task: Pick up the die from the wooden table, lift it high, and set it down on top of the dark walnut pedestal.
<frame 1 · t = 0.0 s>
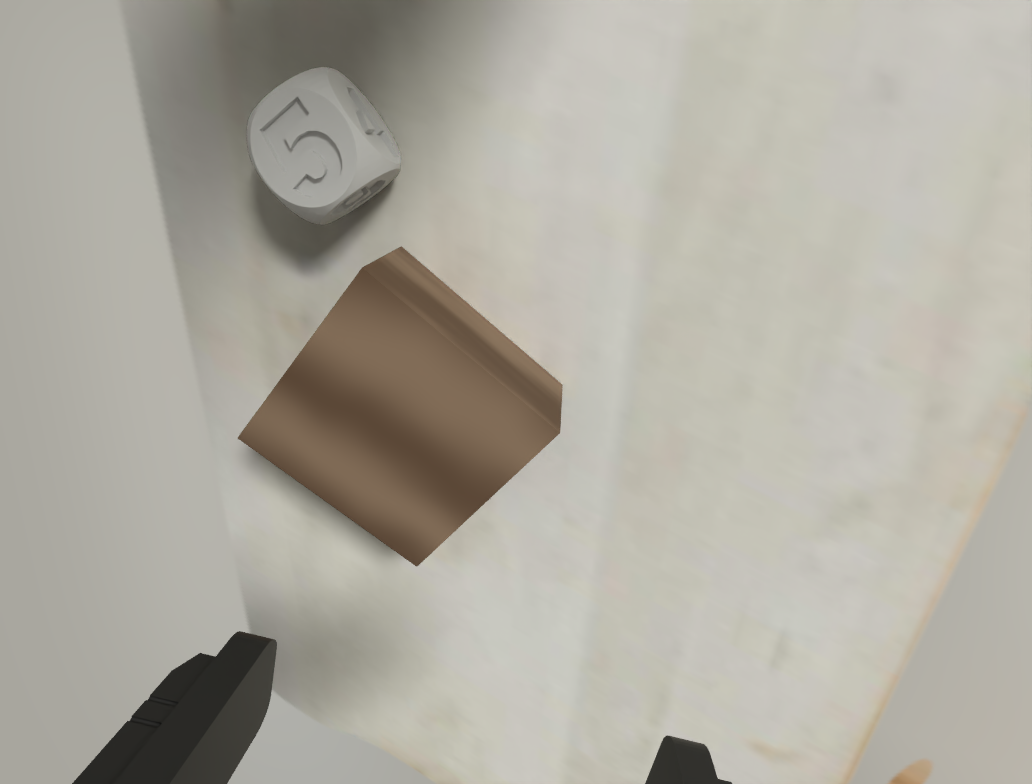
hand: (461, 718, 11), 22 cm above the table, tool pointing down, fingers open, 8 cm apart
pedestal: (422, 388, 33), on the table
die: (348, 150, 28), on the table
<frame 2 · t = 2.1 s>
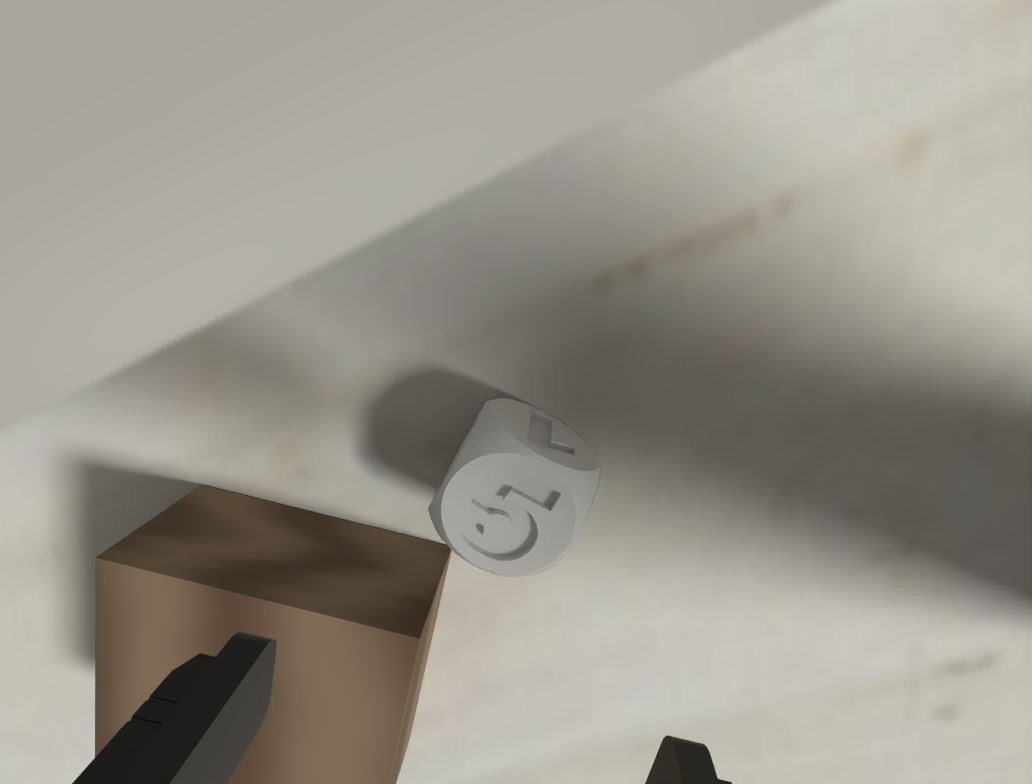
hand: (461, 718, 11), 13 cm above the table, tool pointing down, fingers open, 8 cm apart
pedestal: (311, 620, 27), on the table
die: (518, 457, 24), on the table
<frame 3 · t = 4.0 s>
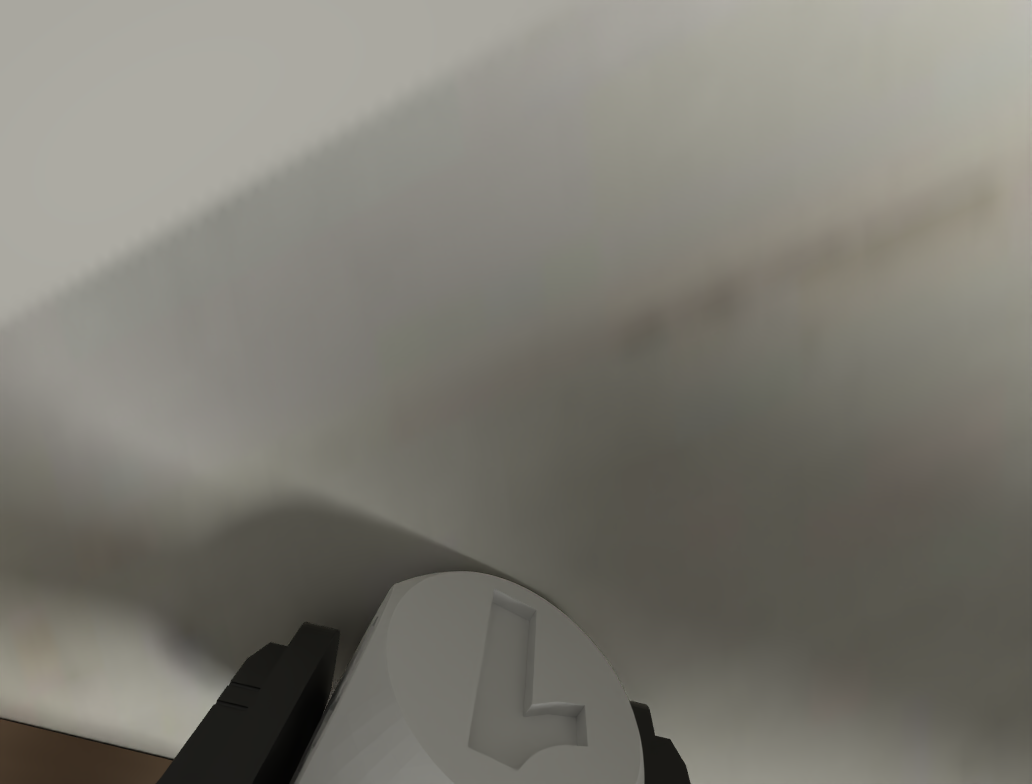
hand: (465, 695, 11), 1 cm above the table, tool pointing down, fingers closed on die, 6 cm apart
die: (474, 659, 12), on the table, touching gripper
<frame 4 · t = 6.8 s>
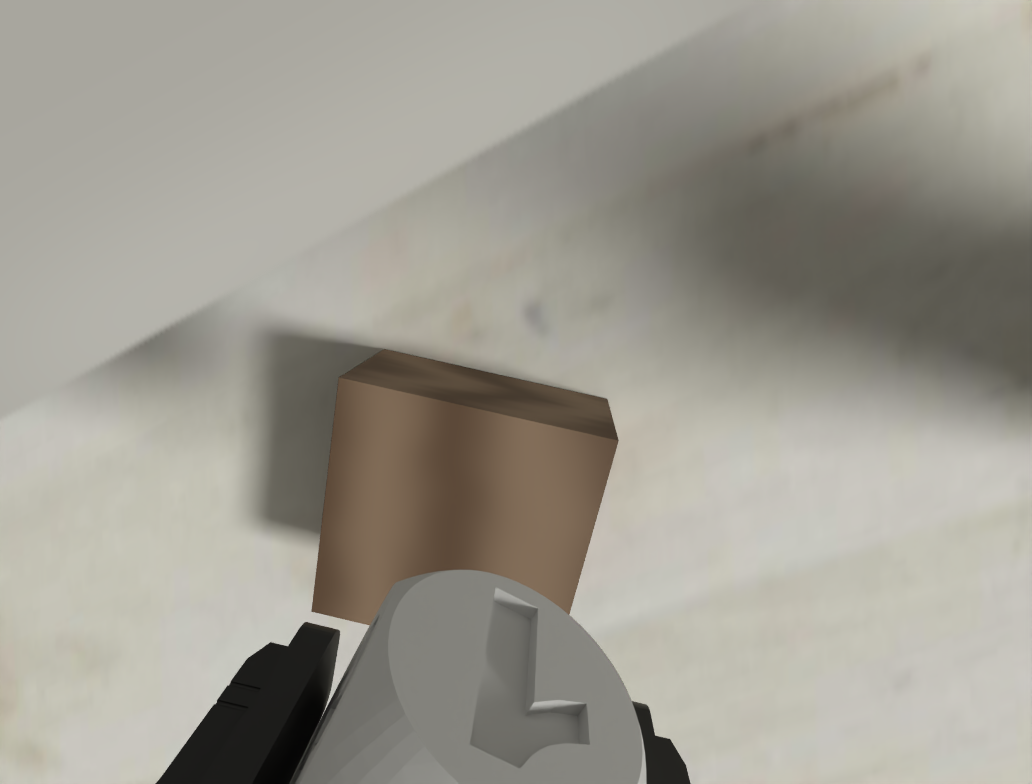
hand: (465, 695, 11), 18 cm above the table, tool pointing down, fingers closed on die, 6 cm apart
pedestal: (474, 476, 30), on the table
die: (475, 657, 12), point 17 cm above the table, touching gripper
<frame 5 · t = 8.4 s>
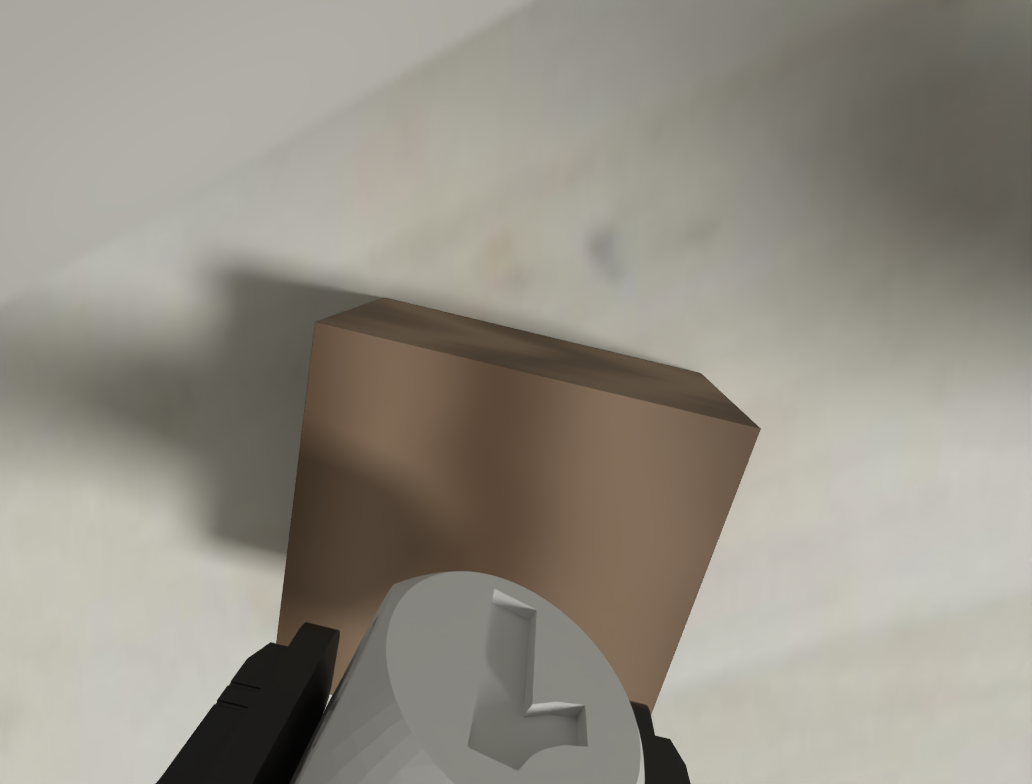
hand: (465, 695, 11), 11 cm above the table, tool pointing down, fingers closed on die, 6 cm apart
pedestal: (507, 480, 22), on the table
die: (474, 659, 12), point 10 cm above the table, touching gripper
when the fingers open (8 cm above the table, at t = 9.8 s): die drops 1 cm, resting on pedestal.
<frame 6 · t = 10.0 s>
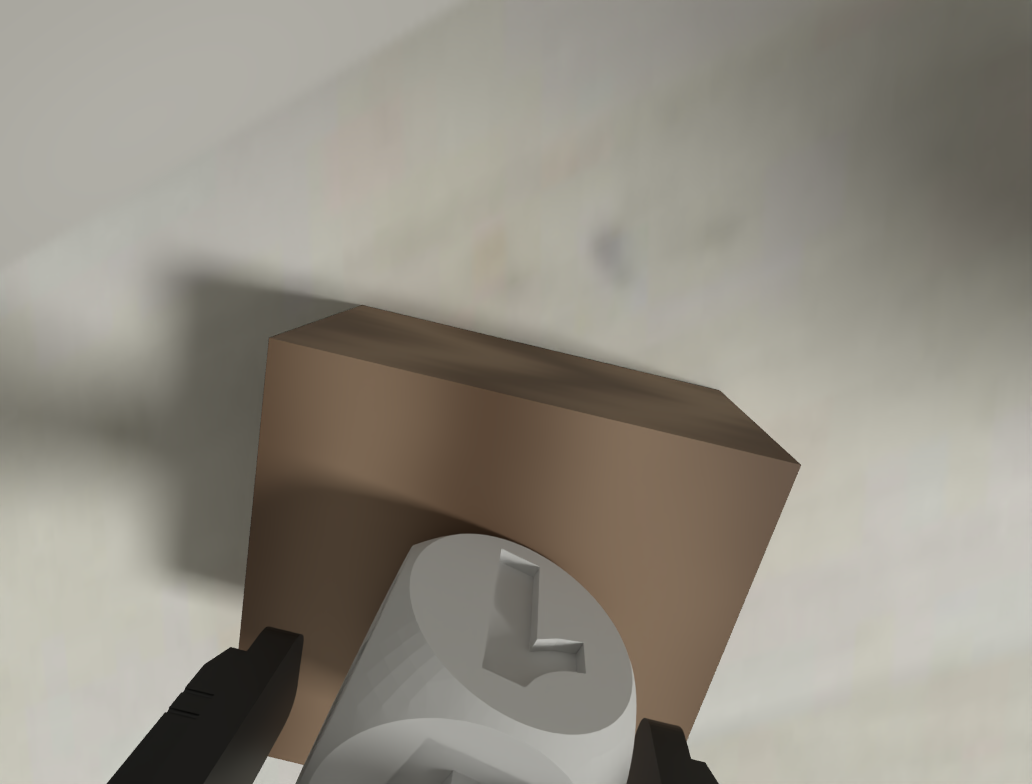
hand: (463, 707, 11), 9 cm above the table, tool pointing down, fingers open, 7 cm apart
pedestal: (501, 508, 19), on the table
die: (484, 617, 14), point 6 cm above the table, touching pedestal
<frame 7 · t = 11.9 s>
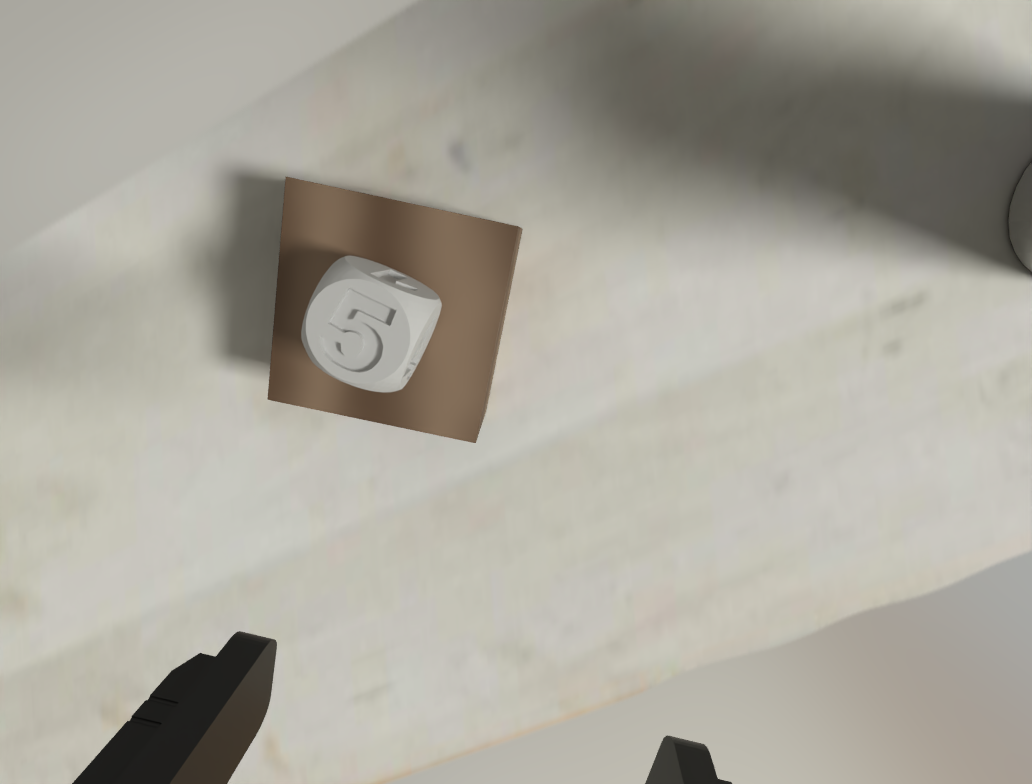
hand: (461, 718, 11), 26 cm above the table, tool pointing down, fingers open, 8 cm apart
pedestal: (412, 304, 35), on the table
die: (389, 316, 29), point 6 cm above the table, touching pedestal
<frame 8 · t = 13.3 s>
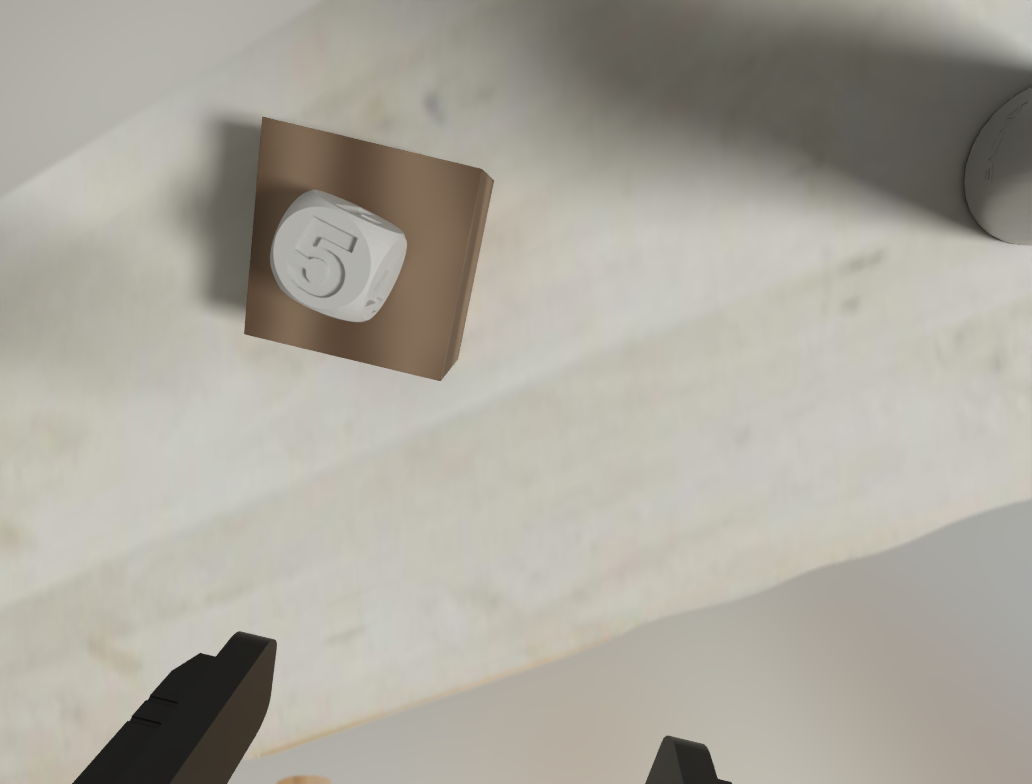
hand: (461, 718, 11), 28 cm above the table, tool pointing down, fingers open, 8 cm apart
pedestal: (387, 253, 36), on the table
die: (359, 255, 31), point 6 cm above the table, touching pedestal
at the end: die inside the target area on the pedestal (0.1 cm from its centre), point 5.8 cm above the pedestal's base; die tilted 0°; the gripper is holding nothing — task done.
